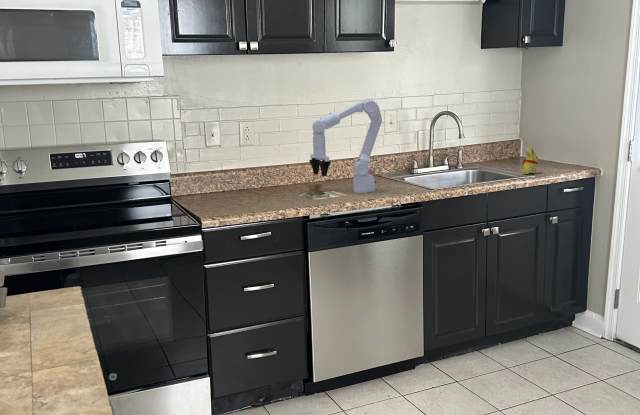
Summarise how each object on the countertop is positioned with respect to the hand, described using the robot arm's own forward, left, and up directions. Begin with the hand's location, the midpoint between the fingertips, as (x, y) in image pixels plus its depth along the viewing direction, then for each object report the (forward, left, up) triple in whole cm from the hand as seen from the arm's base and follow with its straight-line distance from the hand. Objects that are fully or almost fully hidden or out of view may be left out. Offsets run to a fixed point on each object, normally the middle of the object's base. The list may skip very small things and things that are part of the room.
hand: (320, 175), depth 298 cm
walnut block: (+6, +6, -8) cm, 12 cm away
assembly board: (+2, +6, -9) cm, 11 cm away
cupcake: (-37, -16, -10) cm, 41 cm away
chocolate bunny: (-119, +17, -10) cm, 121 cm away
